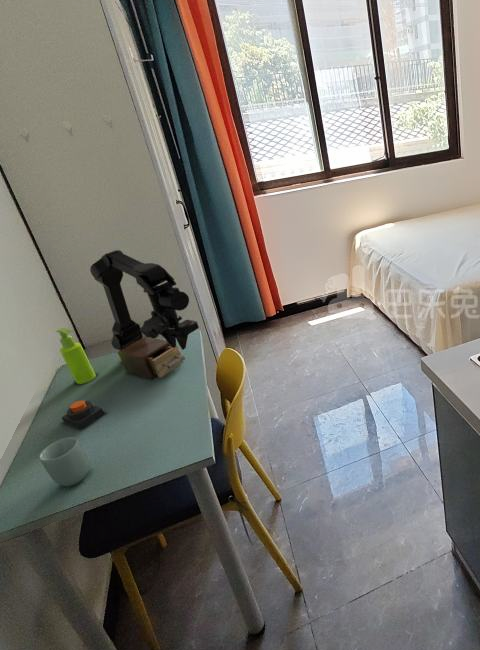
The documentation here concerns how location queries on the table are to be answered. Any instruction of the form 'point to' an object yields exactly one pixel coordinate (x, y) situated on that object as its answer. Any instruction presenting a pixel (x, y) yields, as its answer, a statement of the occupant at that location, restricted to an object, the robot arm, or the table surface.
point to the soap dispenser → (75, 358)
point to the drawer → (165, 360)
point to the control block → (83, 415)
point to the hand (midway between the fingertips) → (179, 348)
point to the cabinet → (141, 355)
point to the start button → (78, 406)
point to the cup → (65, 461)
